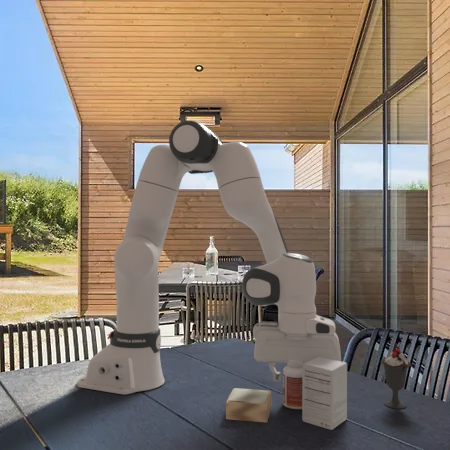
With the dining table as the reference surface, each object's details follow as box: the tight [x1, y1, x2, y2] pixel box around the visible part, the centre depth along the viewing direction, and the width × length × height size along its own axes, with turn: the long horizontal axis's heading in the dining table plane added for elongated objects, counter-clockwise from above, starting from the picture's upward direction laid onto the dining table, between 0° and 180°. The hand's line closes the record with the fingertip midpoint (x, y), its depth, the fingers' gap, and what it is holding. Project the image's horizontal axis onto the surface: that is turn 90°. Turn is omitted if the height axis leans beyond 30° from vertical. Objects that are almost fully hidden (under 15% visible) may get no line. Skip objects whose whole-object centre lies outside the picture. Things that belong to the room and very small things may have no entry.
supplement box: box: [301, 357, 348, 431], centre depth 108 cm, size 7×7×13 cm
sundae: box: [380, 343, 412, 410], centre depth 117 cm, size 7×7×15 cm
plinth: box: [225, 387, 273, 424], centre depth 112 cm, size 9×9×4 cm
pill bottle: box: [282, 360, 304, 410], centre depth 116 cm, size 6×6×11 cm
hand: (296, 381), depth 117 cm, fingers open, 8 cm apart
